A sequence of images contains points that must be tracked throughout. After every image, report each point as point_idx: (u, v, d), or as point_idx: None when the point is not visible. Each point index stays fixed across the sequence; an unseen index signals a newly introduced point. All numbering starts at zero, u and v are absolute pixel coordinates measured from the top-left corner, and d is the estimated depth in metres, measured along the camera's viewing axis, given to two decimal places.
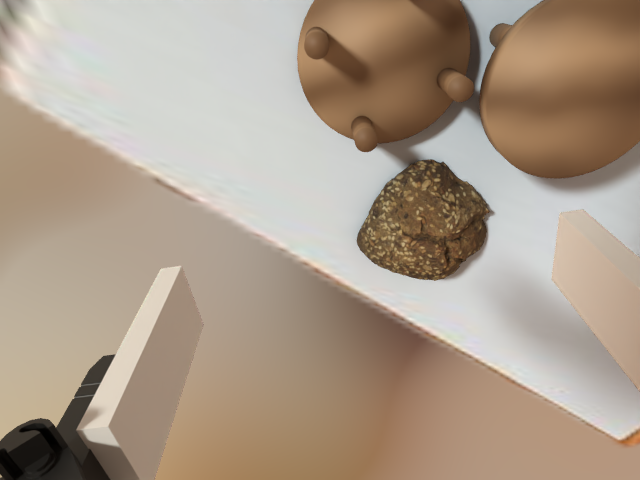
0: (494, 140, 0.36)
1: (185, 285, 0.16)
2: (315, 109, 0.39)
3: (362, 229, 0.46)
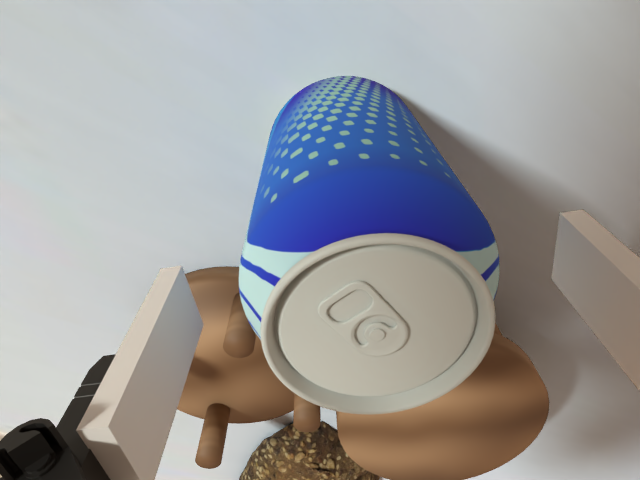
0: (352, 458, 0.32)
1: (185, 285, 0.16)
2: None
3: (241, 479, 0.42)
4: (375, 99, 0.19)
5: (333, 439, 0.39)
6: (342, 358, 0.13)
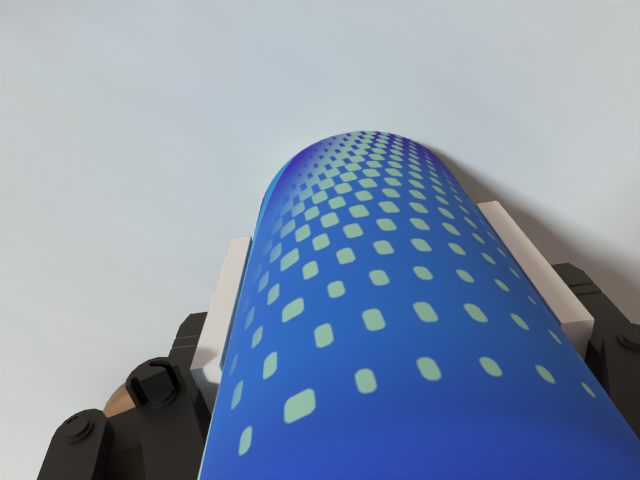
0: None
1: None
2: None
3: None
4: (416, 181, 0.13)
5: None
6: None
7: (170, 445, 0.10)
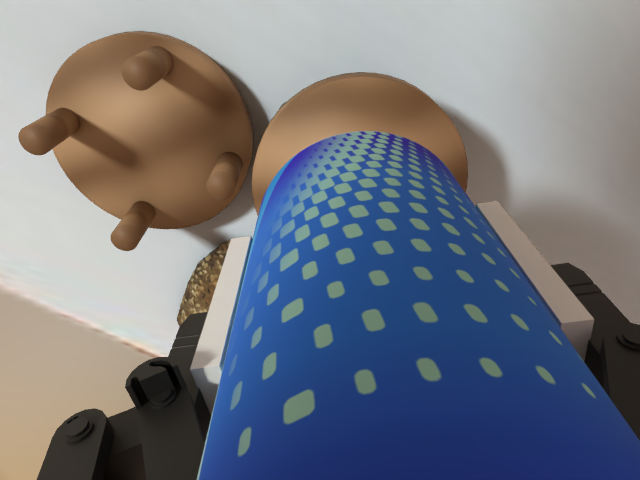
0: None
1: None
2: (85, 194, 0.34)
3: (180, 309, 0.41)
4: (416, 181, 0.13)
5: None
6: None
7: (170, 445, 0.10)
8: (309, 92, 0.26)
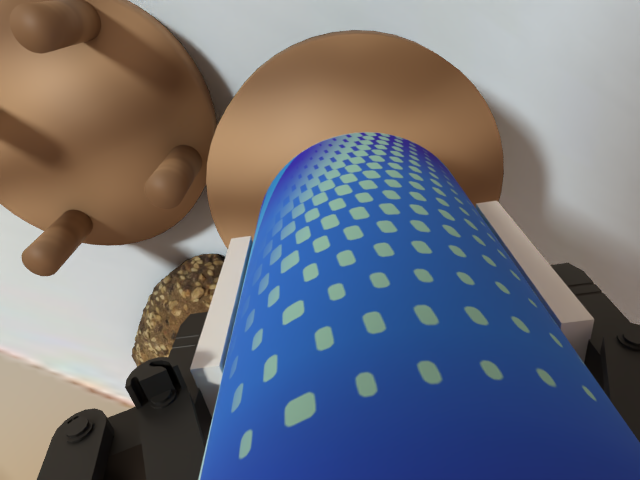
0: None
1: None
2: (0, 200, 0.26)
3: (136, 342, 0.33)
4: (417, 182, 0.13)
5: None
6: None
7: (170, 445, 0.10)
8: (281, 56, 0.18)
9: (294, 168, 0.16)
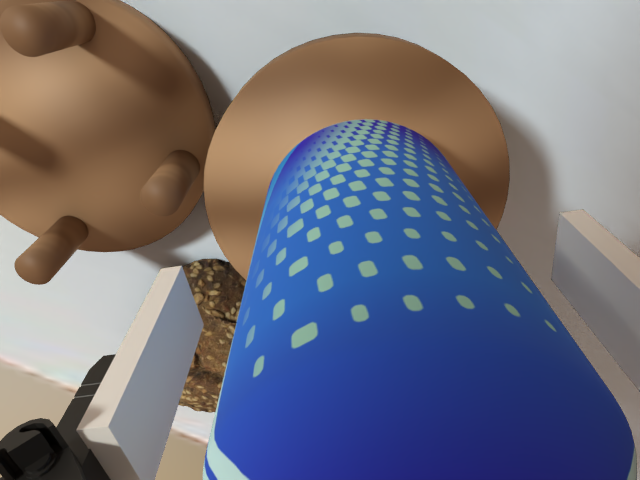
0: (237, 269, 0.23)
1: (185, 285, 0.16)
2: None
3: None
4: (410, 161, 0.14)
5: None
6: None
7: None
8: (280, 59, 0.18)
9: (299, 152, 0.17)
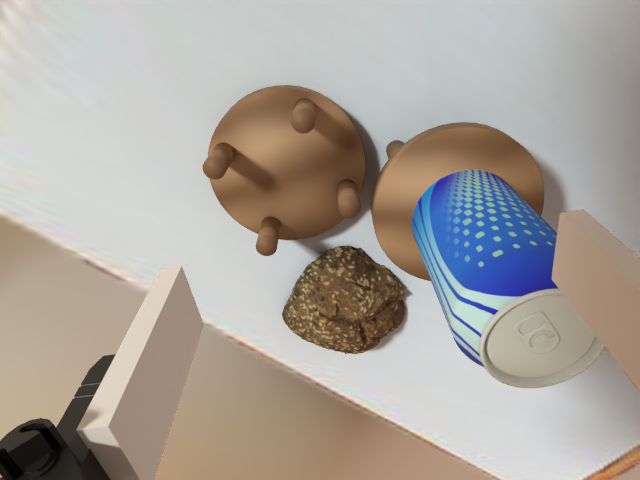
0: (383, 249, 0.39)
1: (185, 285, 0.16)
2: (227, 210, 0.42)
3: (286, 305, 0.48)
4: (507, 193, 0.30)
5: (368, 263, 0.46)
6: (519, 354, 0.24)
7: None
8: (429, 137, 0.35)
9: (441, 186, 0.34)
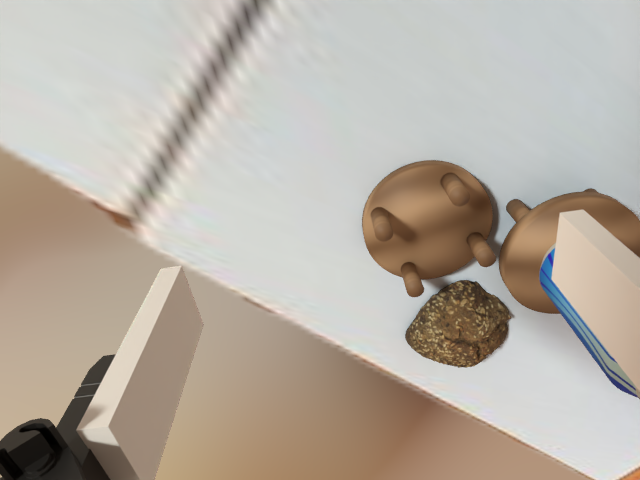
0: (510, 290, 0.48)
1: (185, 285, 0.16)
2: (374, 258, 0.51)
3: (410, 329, 0.58)
4: None
5: (483, 294, 0.55)
6: None
7: None
8: (558, 206, 0.44)
9: None
